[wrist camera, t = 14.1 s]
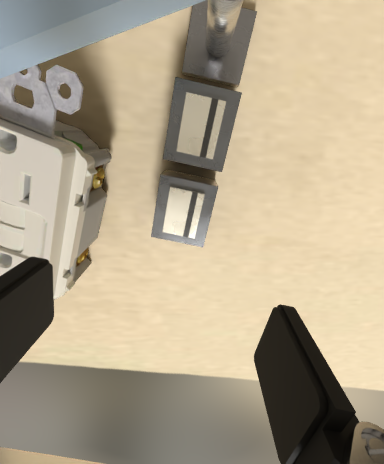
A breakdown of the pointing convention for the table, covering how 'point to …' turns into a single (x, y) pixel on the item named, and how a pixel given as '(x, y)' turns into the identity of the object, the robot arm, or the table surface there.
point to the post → (218, 41)
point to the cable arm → (69, 26)
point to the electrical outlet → (48, 178)
